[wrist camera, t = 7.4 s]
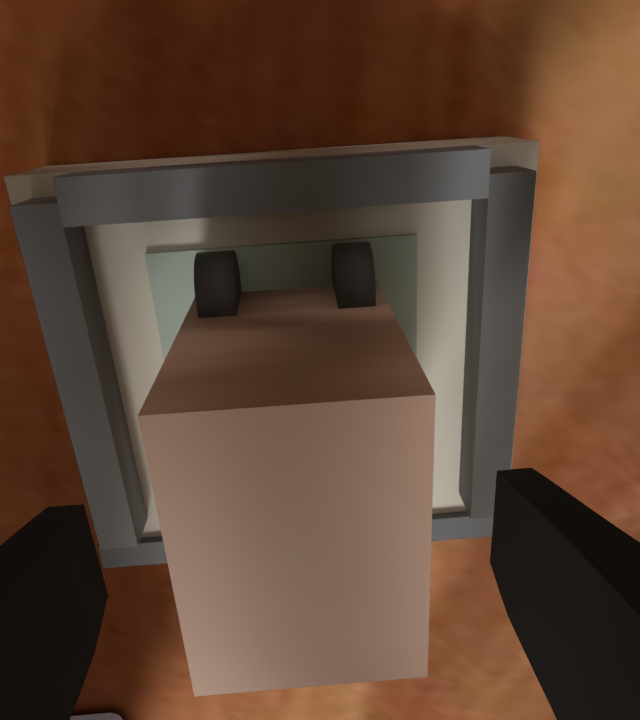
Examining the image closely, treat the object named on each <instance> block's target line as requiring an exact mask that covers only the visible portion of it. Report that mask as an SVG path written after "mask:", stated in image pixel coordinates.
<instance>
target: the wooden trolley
mask: <svg viewBox="0 0 640 720" xmlns="http://www.w3.org/2000/svg"><path fill="white" fill-rule="evenodd" d="M332 281H333V286H324V287H309V288H294V289H279V290H264V291H249V292H242V291H241V280H240V272H239V266H238V260H237V256H236V253H235V251H234V250H229V251H214V252H198V253H196V256H195V260H194V291H195V298H194V300H193V302H192V304H191V306H190V309H189V311H188V313H187V315H186V317H185V319H184V321H183V323H182V325H181V327H180V329H179V331H178V333H177V335H176V338H175V340H174V342H173V344H172V346H171V348H170V350H169V352H168V354H167V356H166V358H165V360H164V362H163V364H162V366H161V369H160V371H159V373H158V375H157V377H156V379H155V381H154V383H153V385H152V387H151V389H150V391H149V393H148V395H147V397H146V400H145V402H144V404H143V406H142V408H141V410H140V412H139V414H138V421H139V426H140V430H141V435H142V440H143V445H144V450H145V455H146V460H147V465H148V470H149V475H150V480H151V484H152V489H153V494H154V499H155V504H156V509H157V514H158V519H159V524H160V529H161V534H162V538H163V543H164V548H165V553H166V558H167V563H168V568H169V573H170V578H171V583H172V588H173V593H174V597H175V602H176V607H177V612H178V617H179V622H180V627H181V632H182V637H183V642H184V647H185V651H186V656H187V661H188V666H189V671H190V676H191V681H192V686H193V691H194V696H205V695H217V694H228V693H240V692H252V691H264V690H276V689H287V688H299V687H311V686H323V685H335V684H346V683H358V682H370V681H382V680H394V679H405V678H417V677H427V673H428V639H429V605H430V571H431V536H432V502H433V468H434V434H435V399H436V394H435V392H434V390H433V388H432V387H431V385H430V383H429V381H428V379H427V377H426V375H425V373H424V371H423V369H422V367H421V365H420V363H419V361H418V360H417V358H416V356H415V354H414V352H413V350H412V348H411V346H410V344H409V342H408V340H407V338H406V336H405V334H404V332H403V331H402V329H401V327H400V325H399V323H398V321H397V319H396V317H395V315H394V313H393V311H392V309H391V307H390V305H389V304H388V302H387V300H386V298H385V296H384V294H383V292H382V290H381V288H380V286H379V284H378V283H375V271H374V261H373V254H372V249H371V245H370V243H369V242H353V243H337V244H332Z"/></svg>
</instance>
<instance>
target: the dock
mask: <svg viewBox="0 0 640 720" xmlns="http://www.w3.org/2000/svg"><path fill="white" fill-rule="evenodd" d="M539 143H540V141H537V140H529V139H522V138H514V137H507V136H493V137H478V138H463V139H448V140H433V141H418V142H402V143H387V144H372V145H357V146H342V147H327V148H312V149H296V150H281V151H266V152H251V153H236V154H221V155H205V156H190V157H175V158H160V159H145V160H130V161H115V162H99V163H84V164H69V165H54V166H44V167H40V168H36V169H32V170H28V171H24V172H20V173H16V174H12V175H7V176H4V180H5V184H6V187H7V191H8V195H9V199H10V202H11V206H9V209H10V213H11V216H12V220H13V224H14V228H15V231H16V235H17V239H18V243H19V246H20V250H21V254H22V257H23V261H24V265H25V269H26V272H27V276H28V280H29V284H30V287H31V291H32V295H33V299H34V302H35V306H36V310H37V314H38V317H39V321H40V325H41V329H42V332H43V336H44V340H45V344H46V347H47V351H48V355H49V359H50V362H51V366H52V370H53V374H54V377H55V381H56V385H57V389H58V392H59V396H60V400H61V404H62V407H63V411H64V415H65V419H66V422H67V426H68V430H69V434H70V437H71V441H72V445H73V449H74V452H75V456H76V460H77V464H78V467H79V471H80V475H81V479H82V482H83V486H84V490H85V494H86V497H87V501H88V505H89V509H90V512H91V516H92V520H93V524H94V527H95V531H96V535H97V539H98V542H99V545H98V550H99V554H100V557H101V561H102V565H103V569H104V568H116V567H128V566H140V565H152V564H164V563H167V558H166V553H165V548H164V543H163V538H162V534H161V529H160V524H159V519H158V514H157V509H156V504H155V499H154V494H153V489H152V484H151V480H150V475H149V470H148V465H147V460H146V455H145V450H144V445H143V440H142V435H141V430H140V426H139V421H138V414H139V412H140V410H141V408H142V406H143V404H144V402H145V400H146V397H147V395H148V393H149V391H150V389H151V387H152V385H153V383H154V381H155V379H156V377H157V375H158V373H159V371H160V369H161V366H162V364H163V362H164V360H165V358H166V356H167V354H168V352H169V350H170V348H171V346H172V344H173V342H174V340H175V338H176V335H177V333H178V331H179V329H180V327H181V325H182V323H183V321H184V319H185V317H186V315H187V313H188V311H189V309H190V306H191V304H192V302H193V300H194V298H195V291H194V260H195V256H196V253H198V252H214V251H229V250H234V251H235V253H236V256H237V260H238V266H239V272H240V280H241V291H242V292H249V291H264V290H279V289H294V288H309V287H324V286H333V281H332V244H337V243H353V242H369V243H370V245H371V249H372V254H373V261H374V271H375V283H378V284H379V286H380V288H381V290H382V292H383V294H384V296H385V298H386V300H387V302H388V304H389V305H390V307H391V309H392V311H393V313H394V315H395V317H396V319H397V321H398V323H399V325H400V327H401V329H402V331H403V332H404V334H405V336H406V338H407V340H408V342H409V344H410V346H411V348H412V350H413V352H414V354H415V356H416V358H417V360H418V361H419V363H420V365H421V367H422V369H423V371H424V373H425V375H426V377H427V379H428V381H429V383H430V385H431V387H432V388H433V390H434V392H435V394H436V399H435V434H434V468H433V502H432V536H431V541H442V540H454V539H466V538H478V537H490V536H492V530H493V516H494V503H495V489H496V475H497V471H499V470H511V467H512V456H513V444H514V433H515V421H516V409H517V398H518V386H519V375H520V363H521V352H522V340H523V329H524V317H525V305H526V294H527V282H528V271H529V259H530V248H531V236H532V224H533V213H534V201H535V190H536V178H537V167H538V155H539Z"/></svg>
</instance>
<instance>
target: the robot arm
mask: <svg viewBox="0 0 640 720" xmlns="http://www.w3.org/2000/svg"><path fill="white" fill-rule="evenodd" d="M490 563H491V566H492V569H493V572H494V575H495V579H496V582H497V585H498V588H499V591H500V594H501V597H502V600H503V603H504V605H505V608H506V611H507V614H508V617H509V619H510V621H511V623H512V626H513V628H514V630H515V632H516V634H517V636H518V638H519V641H520V643H521V645H522V647H523V649H524V651H525V653H526V655H527V658H528V660H529V662H530V664H531V666H532V668H533V670H534V672H535V674H536V676H537V679H538V681H539V683H540V685H541V687H542V689H543V691H544V693H545V695H546V697H547V699H548V702H549V704H550V706H551V708H552V710H553V712H554V714H555V716H556V718H557V720H640V542H638V541H637V540H635V539H634V538H632V537H631V536H629V535H628V534H626V533H625V532H623V531H622V530H620V529H619V528H617V527H616V526H614V525H613V524H611V523H610V522H609V521H607V520H606V519H604V518H603V517H601V516H600V515H598V514H597V513H596V512H594V511H593V510H591V509H590V508H588V507H587V506H586V505H584V504H583V503H581V502H580V501H579V500H577V499H576V498H574V497H573V496H572V495H570V494H569V493H567V492H566V491H564V490H563V489H562V488H560V487H559V486H557V485H556V484H555V483H553V482H552V481H550V480H549V479H547V478H546V477H544V476H543V475H542V474H540V473H538V472H537V471H535V470H534V469H532V468H523V469H511V470H499V471H497V475H496V489H495V503H494V516H493V530H492V544H491V558H490ZM107 596H108V594H107V590H106V586H105V582H104V579H103V575H102V571H101V568H100V564H99V560H98V556H97V553H96V549H95V545H94V541H93V538H92V534H91V530H90V527H89V523H88V519H87V515H86V512H85V508H84V504H82V505H70V506H58V507H48V508H46V509H45V510H44V511H42V512H41V513H40V514H38V515H37V516H36V517H35V518H33V519H32V520H31V521H30V522H28V523H27V524H26V525H25V526H23V527H22V528H21V529H20V530H19V531H17V532H16V533H15V534H14V535H13V536H11V537H10V538H9V539H8V540H7V541H6V542H4V543H3V544H2V545H1V546H0V720H123V719H122V718H121V717H120V716H119V715H118V714H115V713H100V714H88V715H77V716H72V713H73V710H74V708H75V705H76V702H77V700H78V697H79V694H80V691H81V689H82V686H83V683H84V680H85V678H86V675H87V672H88V669H89V667H90V664H91V661H92V658H93V655H94V652H95V648H96V644H97V640H98V636H99V632H100V628H101V624H102V619H103V614H104V610H105V605H106V601H107Z"/></svg>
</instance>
